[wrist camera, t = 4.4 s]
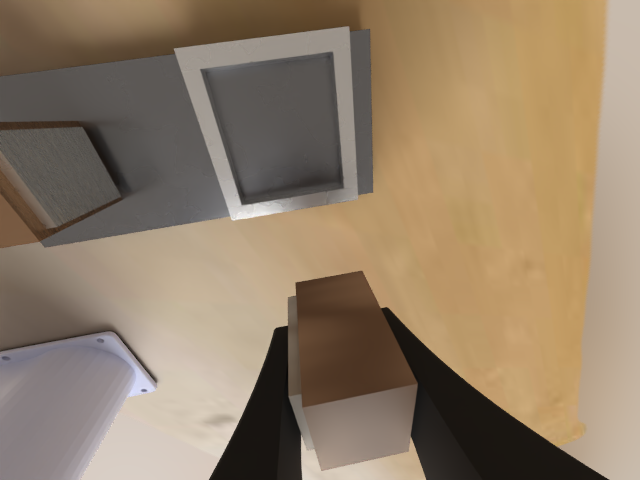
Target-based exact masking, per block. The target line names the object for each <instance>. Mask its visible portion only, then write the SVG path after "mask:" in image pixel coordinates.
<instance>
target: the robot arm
mask: <svg viewBox="0 0 640 480" xmlns="http://www.w3.org/2000/svg"><path fill="white" fill-rule="evenodd" d="M381 310H382V312H383V314H384V316H385V318H386V320H387V322H388V324H389V326H390V328H391V330H392V332H393V334H394V336H395V338H396V340H397V342H398V344H399V346H400V349H401V351H402V353H403V355H404V357H405V359H406V361H407V363H408V365H409V367H410V369H411V371H412V373H413V375H414V377H415V379H416V381H417V383H418V386H417V394H416V401H415V408H414V415H413V423H412V430H411V438H412V440H413V443H414V446H415V448H416V451H417V454H418V457H419V460H420V463H421V465H422V468H423V471H424V474H425V477H426V480H609V479H607V478H605V477H604V476H602V475H601V474H599V473H597V472H596V471H594V470H592V469H591V468H589V467H588V466H586V465H584V464H583V463H581V462H580V461H578V460H577V459H575V458H574V457H572V456H570V455H569V454H567V453H566V452H564V451H563V450H561V449H560V448H558V447H556V446H555V445H553V444H552V443H550V442H549V441H548V440H546V439H545V438H543V437H542V436H540V435H539V434H537V433H536V432H534V431H533V430H531V429H530V428H529V427H527V426H526V425H524V424H523V423H521V422H520V421H518V420H517V419H515V418H514V417H513V416H511V415H510V414H508V413H507V412H506V411H504V410H503V409H501V408H500V407H499V406H497V405H496V404H495V403H493V402H492V401H491V400H489V399H488V398H487V397H485V396H484V395H483V394H481V393H480V392H479V391H478V390H476V389H475V388H474V387H472V386H471V385H470V384H469V383H467V382H466V381H465V380H464V379H463V378H461V377H460V376H459V375H458V374H457V373H455V372H454V371H453V370H452V369H451V368H450V367H448V366H447V365H446V364H445V363H444V362H443V361H441V360H440V359H439V358H438V357H437V356H436V355H435V354H434V353H433V352H432V351H431V350H429V349H428V348H427V347H426V346H425V345H424V344H423V343H422V342H421V341H420V340H419V339H418V338H417V337H416V336H415V335H414V334H413V333H412V332H411V331H410V330H409V329H408V328H407V327H406V326H405V325H404V324H403V323H402V322H401V321H400V320H399V319H398V318H397V317H396V316H395V315H394V313H393V312H392V311H391V310H390V309H389V308H387V307H385V308H381ZM156 388H157V384H156V383H155V381H154V380H153V379H152V378H151V377H150V375H149V374H148V373H147V372H146V370H145V369H144V368H143V367H142V365H141V364H140V363H139V362H138V361H137V359H136V358H135V357H134V356H133V354H132V353H131V352H130V351H129V349H128V348H127V347H126V346H125V344H124V343H123V342H122V341H121V340H120V338H119V337H118V336H117V335H116V334H115V333H114V332H111V331H107V332H101V333H96V334H91V335H85V336H80V337H75V338H70V339H64V340H59V341H54V342H48V343H43V344H38V345H33V346H27V347H22V348H17V349H11V350H6V351H1V352H0V480H81V478H82V476H83V475H84V473H85V471H86V469H87V467H88V466H89V464H90V462H91V460H92V459H93V457H94V455H95V453H96V452H97V450H98V448H99V446H100V444H101V443H102V441H103V439H104V438H105V436H106V434H107V432H108V430H109V428H110V427H111V425H112V423H113V422H114V420H115V418H116V416H117V415H118V413H119V411H120V409H121V408H122V406H123V404H124V402H125V401H126V399H127V397H131V396H136V395H141V394H145V393H150V392H154V391H155V390H156ZM209 480H302V470H301V432H300V429H299V426H298V423H297V420H296V417H295V414H294V411H293V408H292V405H291V402H290V399H289V393H288V326H284V327H278V328H276V329H275V330H274V333H273V337H272V340H271V343H270V347H269V350H268V353H267V356H266V359H265V361H264V364H263V367H262V369H261V372H260V375H259V377H258V380H257V382H256V385H255V387H254V390H253V392H252V394H251V396H250V399H249V401H248V403H247V406H246V408H245V410H244V412H243V415H242V417H241V419H240V421H239V423H238V425H237V427H236V429H235V431H234V433H233V435H232V437H231V439H230V441H229V443H228V445H227V447H226V449H225V451H224V453H223V455H222V457H221V458H220V460H219V462H218V464H217V466H216V468H215V469H214V471H213V473H212V475H211V477H210V479H209Z"/></svg>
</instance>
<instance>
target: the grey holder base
mask: <svg viewBox="0 0 640 480" xmlns="http://www.w3.org/2000/svg"><path fill="white" fill-rule="evenodd" d="M174 51H175V54H171V55H163V56H156V57H148V58H140V59H132V60H124V61H117V62H109V63H101V64H93V65H86V66H78V67H70V68H62V69H54V70H47V71H39V72H31V73H23V74H16V75H8V76H0V248H4V247H10V246H16V245H22V244H28V243H34V242H41V243H42V245H43V246H44V247H51V246H57V245H63V244H69V243H75V242H81V241H87V240H93V239H99V238H105V237H111V236H117V235H122V234H128V233H134V232H140V231H146V230H152V229H158V228H164V227H170V226H176V225H182V224H188V223H194V222H200V221H206V220H212V219H218V218H224V217H230V216H231V219H232V221H233V220H239V219H245V218H251V217H257V216H263V215H269V214H275V213H281V212H287V211H293V210H298V209H304V208H310V207H316V206H322V205H328V204H334V203H340V202H346V201H352V200H358V195H361V194H367V193H373V163H372V111H371V59H370V29H366V30H358V31H349V26H347V27H339V28H331V29H323V30H315V31H308V32H300V33H292V34H284V35H276V36H268V37H260V38H253V39H245V40H237V41H229V42H221V43H213V44H205V45H198V46H190V47H182V48H174Z"/></svg>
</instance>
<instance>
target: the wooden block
mask: <svg viewBox="0 0 640 480" xmlns="http://www.w3.org/2000/svg"><path fill="white" fill-rule="evenodd" d="M417 386H418V383H417V381H416V379H415V377H414V375H413V373H412V371H411V369H410V367H409V365H408V363H407V361H406V359H405V357H404V355H403V353H402V351H401V349H400V346H399V344H398V342H397V340H396V338H395V336H394V334H393V332H392V330H391V328H390V326H389V324H388V322H387V320H386V318H385V316H384V314H383V312H382V310H381V308H380V306H379V304H378V302H377V300H376V298H375V296H374V294H373V292H372V290H371V288H370V286H369V284H368V282H367V280H366V278H365V275H364V273H363V271H358V272H352V273H347V274H341V275H336V276H330V277H325V278H319V279H313V280H308V281H302V282H297V283H296V296H292V297H288V393H289V399H290V402H291V405H292V408H293V411H294V414H295V417H296V420H297V423H298V426H299V429H300V432H301V434H302V437H303V440H304V443H305V446H306V449H307V451H308V450H312V449H315V451H316V455H317V458H318V461H319V465H320V468H321V471H324V470H328V469H332V468H337V467H341V466H346V465H350V464H355V463H359V462H364V461H368V460H373V459H377V458H382V457H386V456H390V455H395V454H399V453H404V452H408V451H409V444H410V437H411V430H412V423H413V415H414V408H415V401H416V394H417Z"/></svg>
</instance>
